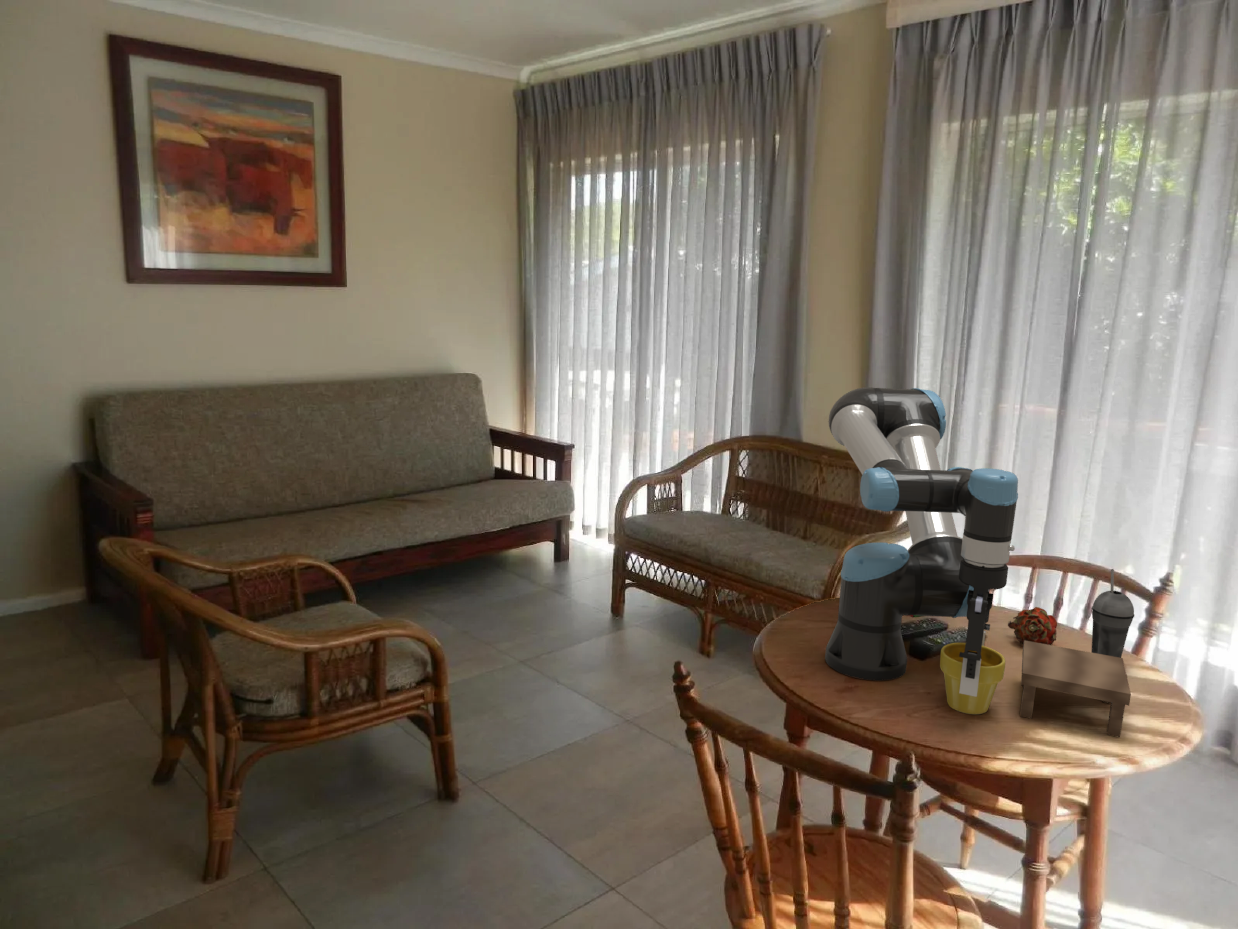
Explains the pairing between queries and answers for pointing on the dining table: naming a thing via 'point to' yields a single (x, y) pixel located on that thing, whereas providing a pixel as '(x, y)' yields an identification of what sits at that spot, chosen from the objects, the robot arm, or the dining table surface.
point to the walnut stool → (1075, 678)
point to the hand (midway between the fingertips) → (970, 679)
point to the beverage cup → (1111, 621)
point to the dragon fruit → (1034, 626)
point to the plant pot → (988, 678)
